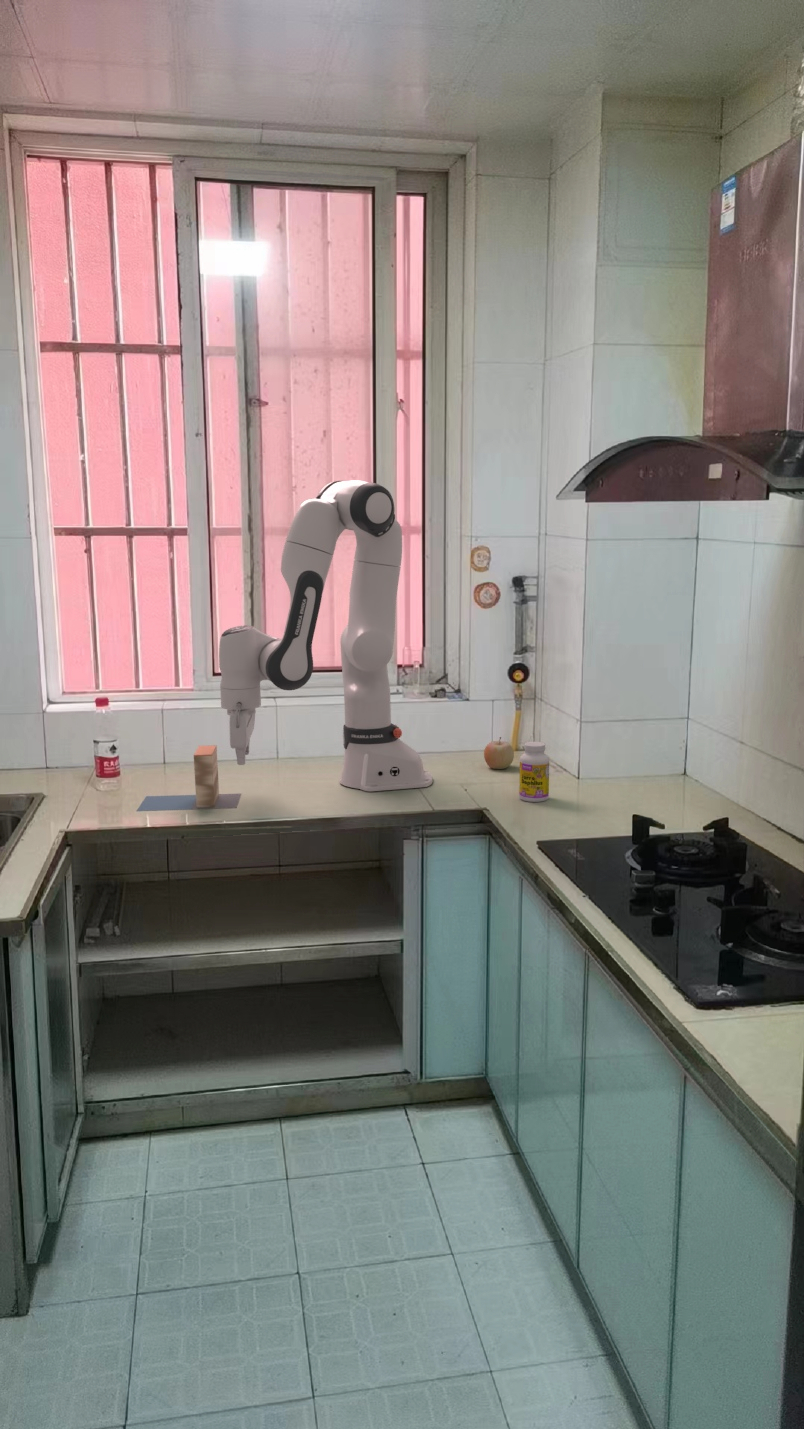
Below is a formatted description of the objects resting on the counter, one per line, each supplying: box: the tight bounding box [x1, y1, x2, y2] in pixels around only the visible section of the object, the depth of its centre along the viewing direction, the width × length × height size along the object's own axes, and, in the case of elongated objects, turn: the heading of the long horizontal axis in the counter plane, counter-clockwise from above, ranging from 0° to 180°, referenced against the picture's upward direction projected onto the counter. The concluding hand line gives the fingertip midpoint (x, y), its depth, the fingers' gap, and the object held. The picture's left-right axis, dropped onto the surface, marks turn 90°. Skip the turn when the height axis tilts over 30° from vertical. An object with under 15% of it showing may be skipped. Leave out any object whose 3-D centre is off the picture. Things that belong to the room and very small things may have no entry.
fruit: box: [483, 736, 515, 770], centre depth 270 cm, size 8×7×8 cm
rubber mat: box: [136, 793, 243, 812], centre depth 242 cm, size 22×12×1 cm, turn 93°
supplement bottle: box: [518, 741, 550, 803], centre depth 241 cm, size 7×7×13 cm
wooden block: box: [193, 744, 220, 807], centre depth 241 cm, size 4×9×12 cm, turn 3°
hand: (243, 759), depth 241 cm, fingers open, 8 cm apart
